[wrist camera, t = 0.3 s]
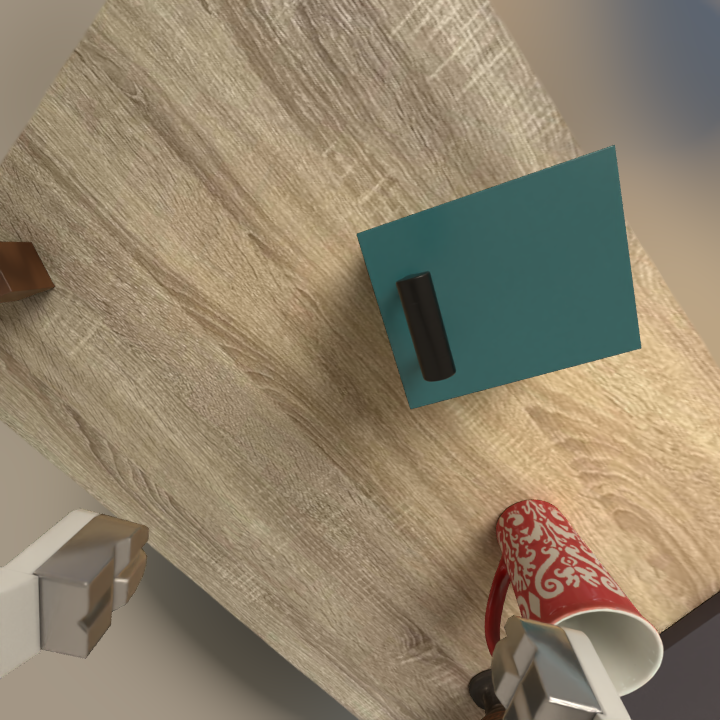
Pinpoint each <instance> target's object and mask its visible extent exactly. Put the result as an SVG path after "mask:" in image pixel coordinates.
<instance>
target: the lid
mask: <svg viewBox="0 0 720 720" xmlns="http://www.w3.org/2000/svg"><path fill="white" fill-rule="evenodd" d="M357 238H358V241H359V244H360V248H361V251H362V254H363V257H364V260H365V264H366V267H367V270H368V273H369V277H370V280H371V283H372V286H373V290H374V293H375V296H376V299H377V303H378V306H379V309H380V312H381V316H382V319H383V322H384V325H385V329H386V332H387V335H388V338H389V342H390V345H391V348H392V351H393V355H394V358H395V361H396V364H397V368H398V371H399V374H400V377H401V381H402V384H403V387H404V390H405V394H406V397H407V400H408V403H409V407H410V409H414V408H417V407H421V406H425V405H429V404H433V403H436V402H440V401H444V400H448V399H452V398H455V397H459V396H463V395H467V394H470V393H474V392H478V391H482V390H486V389H489V388H493V387H497V386H501V385H505V384H508V383H512V382H516V381H520V380H523V379H527V378H531V377H535V376H539V375H542V374H546V373H550V372H554V371H558V370H561V369H565V368H569V367H573V366H576V365H580V364H584V363H588V362H592V361H595V360H599V359H603V358H607V357H611V356H614V355H618V354H622V353H626V352H630V351H633V350H637V349H641V341H640V334H639V326H638V318H637V311H636V303H635V295H634V288H633V280H632V272H631V265H630V257H629V250H628V242H627V234H626V227H625V219H624V212H623V204H622V196H621V189H620V181H619V173H618V166H617V158H616V151H615V145H612V146H610V147H607V148H604V149H601V150H598V151H595V152H592V153H589V154H586V155H583V156H581V157H578V158H575V159H572V160H569V161H566V162H563V163H560V164H557V165H554V166H552V167H549V168H546V169H543V170H540V171H537V172H534V173H531V174H528V175H525V176H523V177H520V178H517V179H514V180H511V181H508V182H505V183H502V184H499V185H496V186H494V187H491V188H488V189H485V190H482V191H479V192H476V193H473V194H470V195H467V196H465V197H462V198H459V199H456V200H453V201H450V202H447V203H444V204H441V205H438V206H436V207H433V208H430V209H427V210H424V211H421V212H418V213H415V214H412V215H409V216H407V217H404V218H401V219H398V220H395V221H392V222H389V223H386V224H383V225H380V226H378V227H375V228H372V229H369V230H366V231H363V232H360V233H357Z"/></svg>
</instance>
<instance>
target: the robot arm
mask: <svg viewBox="0 0 720 720" xmlns="http://www.w3.org/2000/svg"><path fill="white" fill-rule="evenodd" d="M148 537H149V528H148V527H147V526H145V525H141V524H138V523H134V522H130V521H127V520H123V519H120V518H116V517H112V516H109V515H105V514H100V513H96V512H92V511H89V510H85V509H81V508H79V509H76V510H74V511H71V512H70V513H69V514H67V515H66V516H65V517H64V518H63V519H61V520H60V521H59V522H57V523H56V524H55V525H54V526H53V527H51V528H50V529H49V530H48V531H46V532H45V533H44V534H43V535H42V536H40V537H39V538H38V539H37V540H36V541H34V542H33V543H32V544H31V545H29V546H28V547H27V548H26V549H25V550H23V551H22V552H21V553H20V554H18V555H17V556H16V557H15V558H14V559H12V560H11V561H10V562H9V563H7V564H6V565H5V566H4V567H0V679H1V678H2V677H4V676H5V675H7V674H8V673H10V672H11V671H13V670H14V669H16V668H17V667H19V666H21V665H22V664H24V663H25V662H27V661H28V660H30V659H31V658H33V657H34V656H36V655H37V654H39V653H40V652H41V649H42V650H46V651H51V652H56V653H61V654H66V655H71V656H75V657H80V658H85V659H86V658H87V656H88V655H89V654H90V652H91V651H92V650H93V648H94V647H95V646H96V644H97V643H98V642H99V640H100V639H101V637H102V636H103V635H104V634H105V632H106V631H107V630H108V628H109V627H110V626H111V617H112V616H111V615H112V612H113V611H115V610H117V609H118V608H120V607H122V606H124V605H126V603H127V602H128V601H129V600H130V598H131V597H132V595H133V594H134V593H135V591H136V589H137V587H138V585H139V583H140V581H141V579H142V577H143V575H144V571H145V567H146V563H147V555H146V554H145V552H144V550H143V549H142V547H143V546H144V545H145V543H146V542H147V541H148ZM504 628H505V632H506V635H507V637H505V638H503V639H501V640H500V641H498V642H497V644H496V646H495V649H494V651H493V653H492V664H491V672H492V681H493V686H494V690H495V694H496V696H497V697H498V699H499V700H500V702H501V703H502V704H503V706H504V707H505V709H506V711H505V714H504V717H503V719H502V720H631V718H630V716H629V714H628V712H627V710H626V708H625V706H624V705H623V703H622V701H621V699H620V697H619V695H618V693H617V691H616V689H615V687H614V685H613V684H612V682H611V680H610V678H609V676H608V674H607V672H606V670H605V668H604V666H603V664H602V663H601V661H600V659H599V657H598V655H597V653H596V651H595V649H594V647H593V645H592V643H591V642H590V640H589V638H588V637H587V636H586V635H585V634H584V633H583V632H582V631H578V630H574V629H570V628H566V627H561V626H556V625H553V624H549V623H545V622H541V621H536V620H532V619H528V618H523V617H519V616H515V615H513V616H511V617H510V618H508V620H507V622H506V624H505V626H504Z"/></svg>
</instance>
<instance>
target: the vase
mask: <svg viewBox="0 0 720 720" xmlns="http://www.w3.org/2000/svg"><path fill="white" fill-rule="evenodd" d="M469 693H470V696H471V697H472V699H473V700H474V702H475V703H476V704H477V706H478V707H480V708H482V709H484V710H485V713H486V716H485V717H484V718H482V719H481V720H502V719H503V717H504V714H505V711H506V709H505V707H504V706H503V704H502V703H501V702H500V700H499V699H498V697H497V696H496V694H495V690H494V686H493V681H492V672H491V670H488V671H485V672H482V673H480V674H478V675H476V676H475V677H474V678H473V679H472V680H471V682H470V685H469Z"/></svg>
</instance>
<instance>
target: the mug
mask: <svg viewBox="0 0 720 720" xmlns="http://www.w3.org/2000/svg"><path fill="white" fill-rule="evenodd" d="M496 535H497V540H498V543H499V546H500V549H501V552H502V556H501V560H500V563H499V566H498V568H497V571H496V573H495V576H494V579H493V583H492V586H491V590H490V594H489V598H488V602H487V607H486V613H485V637H486V642H487V646H488V649H489V652H490V654H491V656H492V653H493V651H494V649H495V646H496V644H497V642H498V641H500V622H501V615H502V610H503V605H504V601H505V597H506V593H507V589H508V586H509V584H510V581H511V583H512V586H513V590H514V593H515V596H516V599H517V602H518V606H519V609H520V612H521V616H522V617H523V618H528V619H532V620H536V621H541V622H545V623H549V624H553V625H556V626H561V627H566V628H570V629H574V630H578V631H582V632H583V633H584V634H585V635H586V636H587V637H588V638H589V640H590V642H591V643H592V645H593V647H594V649H595V651H596V653H597V655H598V657H599V659H600V661H601V663H602V664H603V666H604V668H605V670H606V672H607V674H608V676H609V678H610V680H611V682H612V684H613V685H614V687H615V689H616V691H617V693H618V695H619V697H621V696H624V695H626V694H629V693H631V692H633V691H635V690H637V689H638V688H640V687H641V686H643V685H644V684H646V683H647V682H648V681H649V680H650V679H651V678H652V677H653V676H654V675H655V673H656V672H657V670H658V669H659V667H660V665H661V662H662V659H663V644H662V640H661V638H660V636H659V634H658V632H657V630H656V629H655V627H654V626H653V625H652V624H651V623H650V622H649V621H648V620H646V619H645V618H644V617H643V616H642V615H641V614H640V613H639V612H638V610H637V609H636V608H635V606H634V605H633V604H632V603H631V601H630V600H629V599H628V597H627V596H626V595H625V593H624V592H623V591H622V590H621V588H620V587H619V586H618V584H617V583H616V582H615V581H614V579H613V578H612V577H611V576H610V574H609V573H608V572H607V571H606V569H605V568H604V566H603V565H602V564H601V563H600V562H599V560H598V559H597V558H596V556H595V555H594V554H593V553H592V551H591V550H590V549H589V547H588V546H587V545H586V544H585V542H584V541H583V540H582V538H581V537H580V536H579V535H578V533H577V532H576V531H575V530H574V528H573V527H572V526H571V524H570V523H569V522H568V520H567V519H566V518H565V517H564V515H563V514H562V513H561V512H560V511H559V510H558V509H557V508H556V507H555V506H554V505H552V504H550V503H548V502H545V501H541V500H525V501H521V502H518V503H516V504H514V505H512V506H510V507H509V508H507V509H506V510H505V511H504V512H503V513H502V515H501V516H500V518H499V520H498V522H497V526H496Z"/></svg>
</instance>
